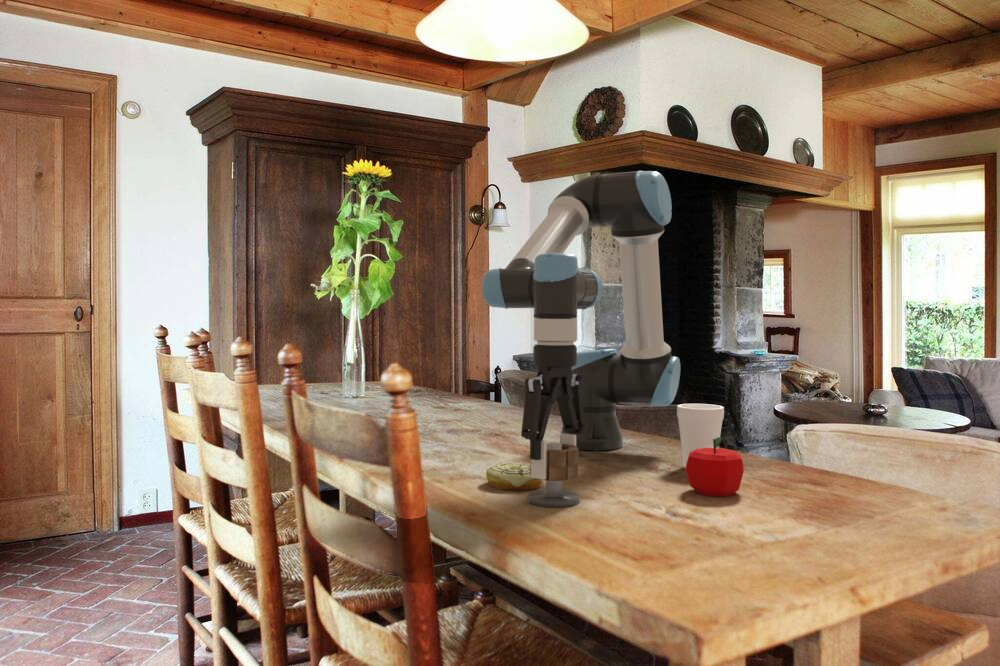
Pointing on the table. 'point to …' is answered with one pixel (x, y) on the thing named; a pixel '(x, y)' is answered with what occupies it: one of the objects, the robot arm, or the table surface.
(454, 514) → the table surface
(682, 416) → the foam cup
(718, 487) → the apple
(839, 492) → the table surface
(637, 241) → the robot arm
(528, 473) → the decorated donut
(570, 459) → the ring
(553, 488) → the post
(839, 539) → the table surface
